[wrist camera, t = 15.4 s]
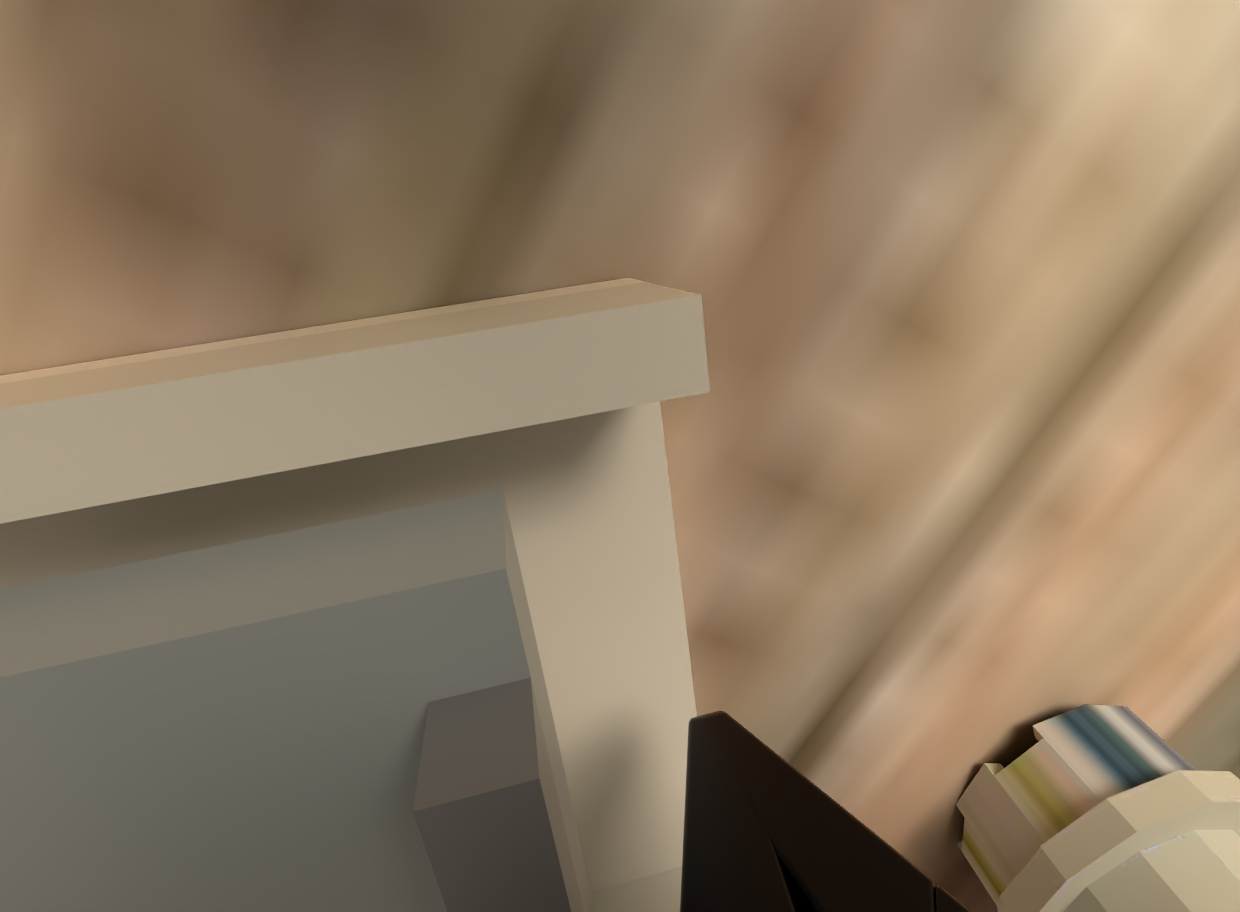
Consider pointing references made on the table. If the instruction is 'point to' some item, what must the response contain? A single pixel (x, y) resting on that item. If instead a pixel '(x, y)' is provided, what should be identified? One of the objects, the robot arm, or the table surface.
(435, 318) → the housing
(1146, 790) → the white blue tube
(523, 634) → the cover
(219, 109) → the table surface
